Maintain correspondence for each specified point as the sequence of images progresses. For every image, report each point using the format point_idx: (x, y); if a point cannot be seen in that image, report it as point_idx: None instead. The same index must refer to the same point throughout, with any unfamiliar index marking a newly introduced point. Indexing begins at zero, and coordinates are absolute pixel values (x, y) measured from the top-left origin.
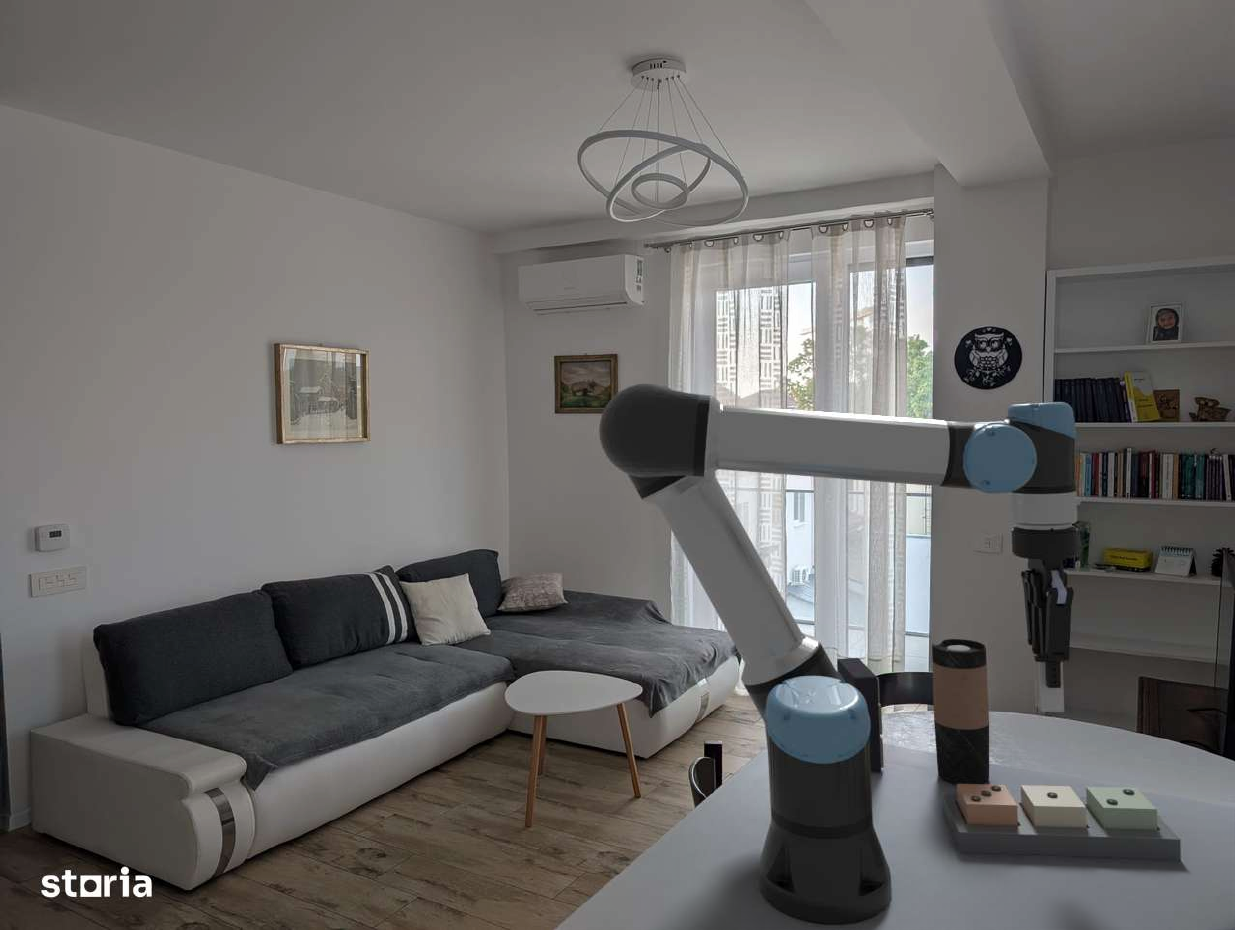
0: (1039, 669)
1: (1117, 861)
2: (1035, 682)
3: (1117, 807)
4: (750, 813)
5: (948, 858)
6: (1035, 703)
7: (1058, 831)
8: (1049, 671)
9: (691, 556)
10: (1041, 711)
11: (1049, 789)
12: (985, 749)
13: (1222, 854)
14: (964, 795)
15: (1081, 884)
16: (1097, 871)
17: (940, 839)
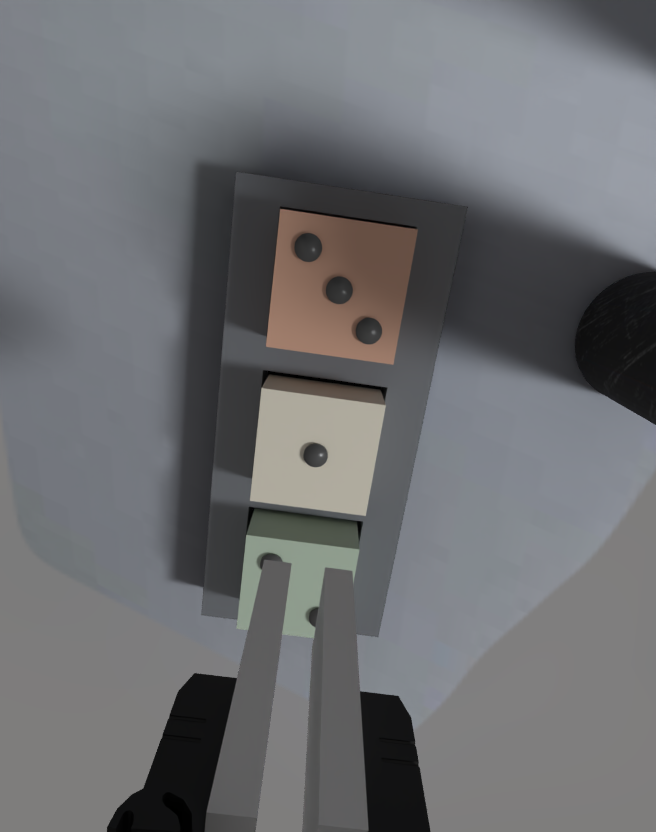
0: (234, 743)
1: (205, 488)
2: (344, 655)
3: (247, 562)
4: None
5: (214, 138)
6: (351, 576)
7: (237, 414)
8: (148, 777)
9: None
10: (265, 561)
11: (352, 463)
12: (633, 404)
13: (231, 656)
14: (337, 223)
15: (116, 386)
16: (166, 436)
17: (308, 151)
